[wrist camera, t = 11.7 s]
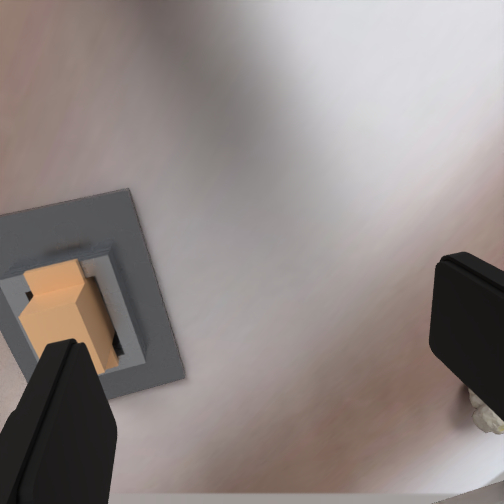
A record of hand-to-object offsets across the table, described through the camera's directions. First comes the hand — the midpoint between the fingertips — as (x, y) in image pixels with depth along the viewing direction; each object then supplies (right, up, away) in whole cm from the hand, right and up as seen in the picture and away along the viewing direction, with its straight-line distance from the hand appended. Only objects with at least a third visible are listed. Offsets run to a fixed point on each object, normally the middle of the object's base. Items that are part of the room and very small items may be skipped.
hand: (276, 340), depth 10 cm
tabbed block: (-16, -3, +24) cm, 29 cm away
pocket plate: (-16, -3, +25) cm, 30 cm away
